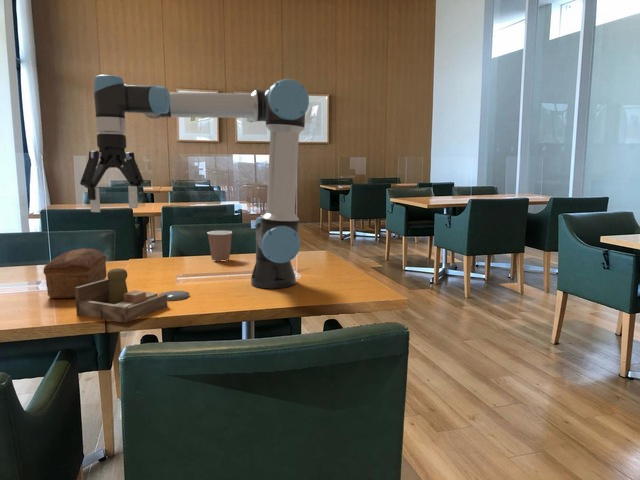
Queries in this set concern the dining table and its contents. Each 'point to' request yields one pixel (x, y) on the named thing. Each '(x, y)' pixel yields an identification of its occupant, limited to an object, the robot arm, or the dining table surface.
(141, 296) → the offcut
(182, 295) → the coaster
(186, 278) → the dining table surface
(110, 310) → the tray
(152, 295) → the offcut
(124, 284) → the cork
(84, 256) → the bread
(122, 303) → the offcut
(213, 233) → the coffee cup
